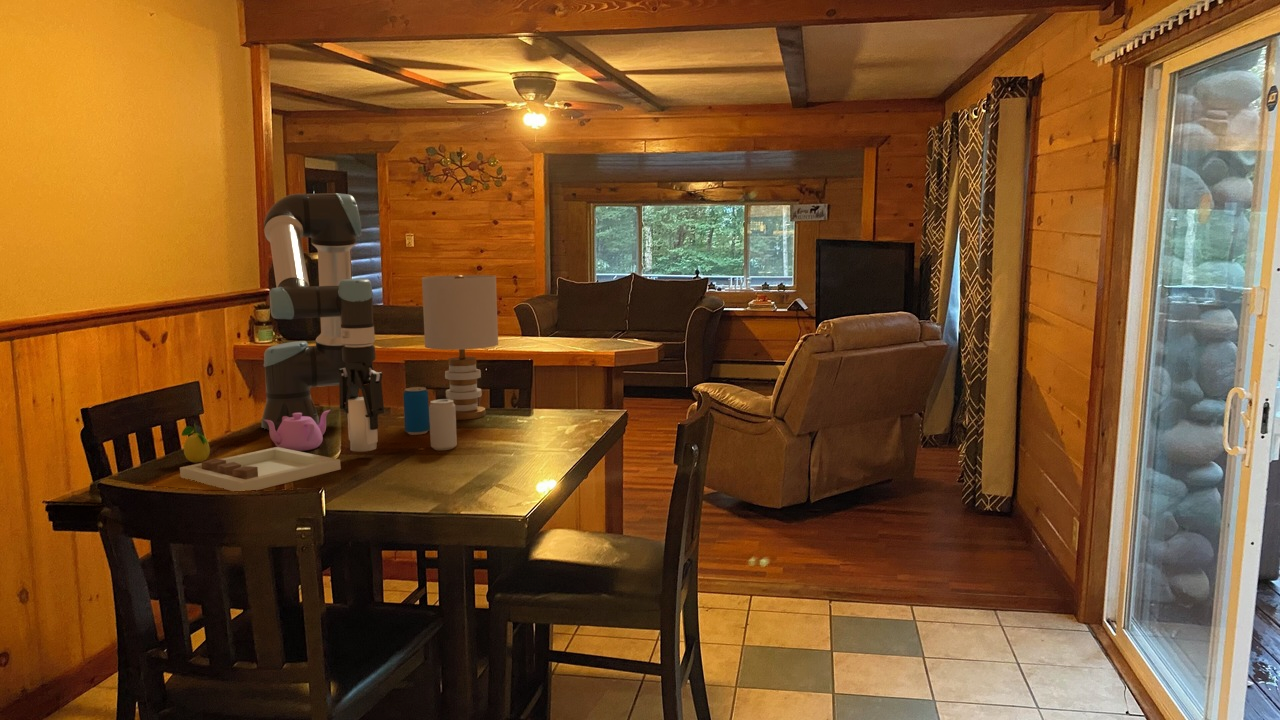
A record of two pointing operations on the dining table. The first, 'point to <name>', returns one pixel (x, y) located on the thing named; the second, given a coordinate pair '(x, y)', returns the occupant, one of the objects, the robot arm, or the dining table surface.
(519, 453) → the dining table surface
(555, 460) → the dining table surface
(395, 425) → the dining table surface
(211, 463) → the walnut cube
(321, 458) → the tray
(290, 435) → the teapot
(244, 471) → the walnut cube
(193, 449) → the lemon
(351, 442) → the white rounded tapered cylinder
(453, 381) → the lamp
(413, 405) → the beverage can
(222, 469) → the walnut cube
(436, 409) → the beverage can
